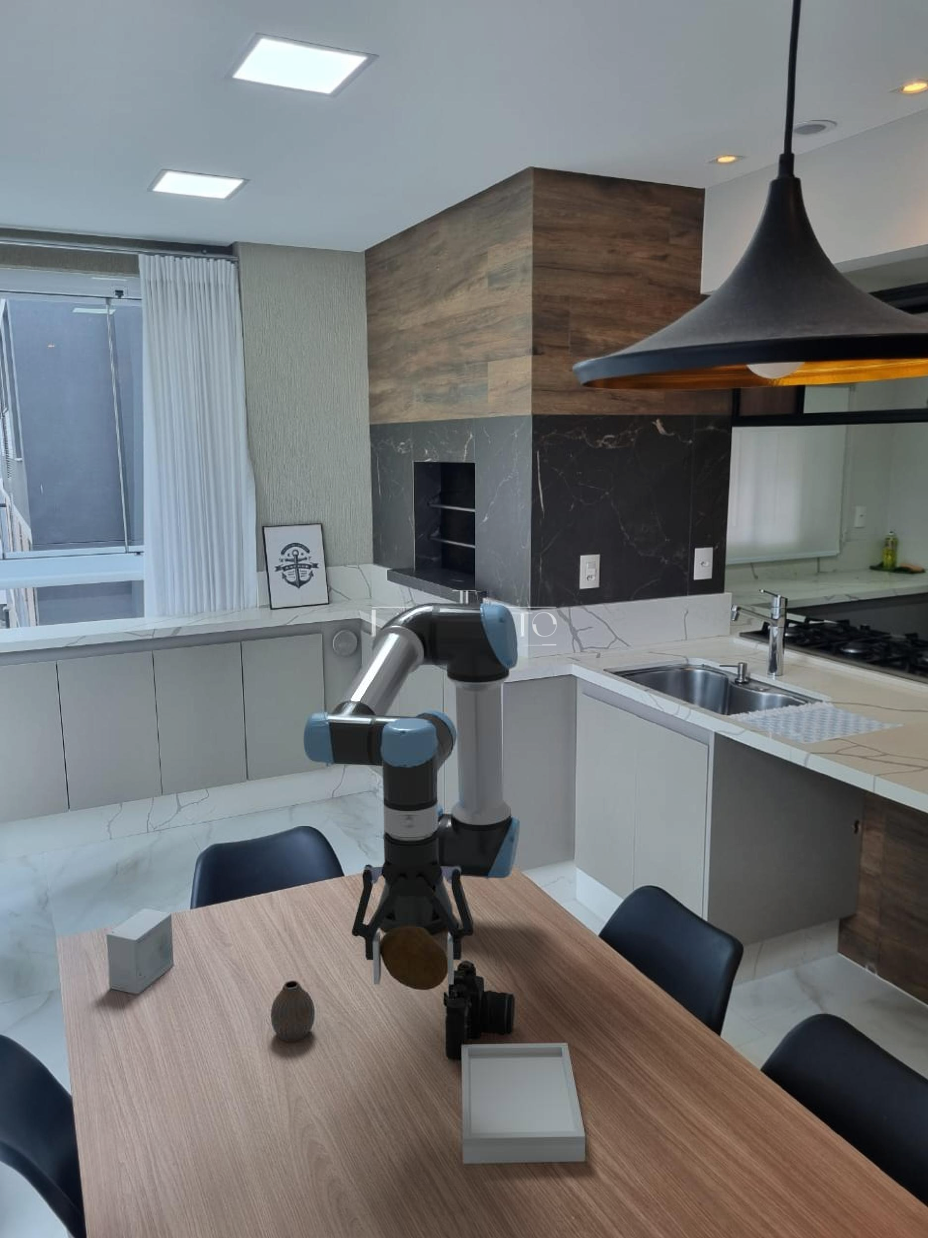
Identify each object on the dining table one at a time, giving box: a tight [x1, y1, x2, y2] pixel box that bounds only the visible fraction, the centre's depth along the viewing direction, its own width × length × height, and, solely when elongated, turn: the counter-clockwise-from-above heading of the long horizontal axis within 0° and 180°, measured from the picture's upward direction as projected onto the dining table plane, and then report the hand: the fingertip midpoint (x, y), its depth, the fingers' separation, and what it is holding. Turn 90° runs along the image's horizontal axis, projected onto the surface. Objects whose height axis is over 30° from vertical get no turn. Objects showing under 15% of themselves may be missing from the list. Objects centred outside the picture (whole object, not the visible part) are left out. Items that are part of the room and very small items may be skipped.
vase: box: [270, 980, 316, 1043], centre depth 152 cm, size 7×7×9 cm
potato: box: [380, 926, 448, 991], centre depth 135 cm, size 8×12×8 cm, turn 51°
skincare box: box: [106, 908, 175, 995], centre depth 169 cm, size 10×6×10 cm, turn 161°
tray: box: [461, 1042, 586, 1165], centre depth 134 cm, size 20×16×4 cm
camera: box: [442, 959, 516, 1061], centre depth 151 cm, size 14×11×10 cm
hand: (414, 979), depth 135 cm, fingers closed on potato, 10 cm apart
